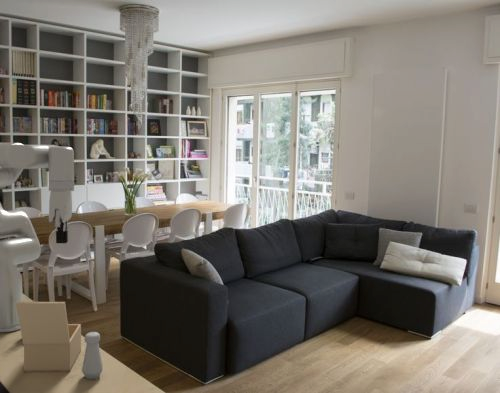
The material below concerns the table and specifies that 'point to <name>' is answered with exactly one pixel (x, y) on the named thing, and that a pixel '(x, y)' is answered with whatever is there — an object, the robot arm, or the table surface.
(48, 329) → the flap
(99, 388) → the table surface
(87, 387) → the table surface
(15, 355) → the table surface
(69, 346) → the carton
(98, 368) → the salt shaker
